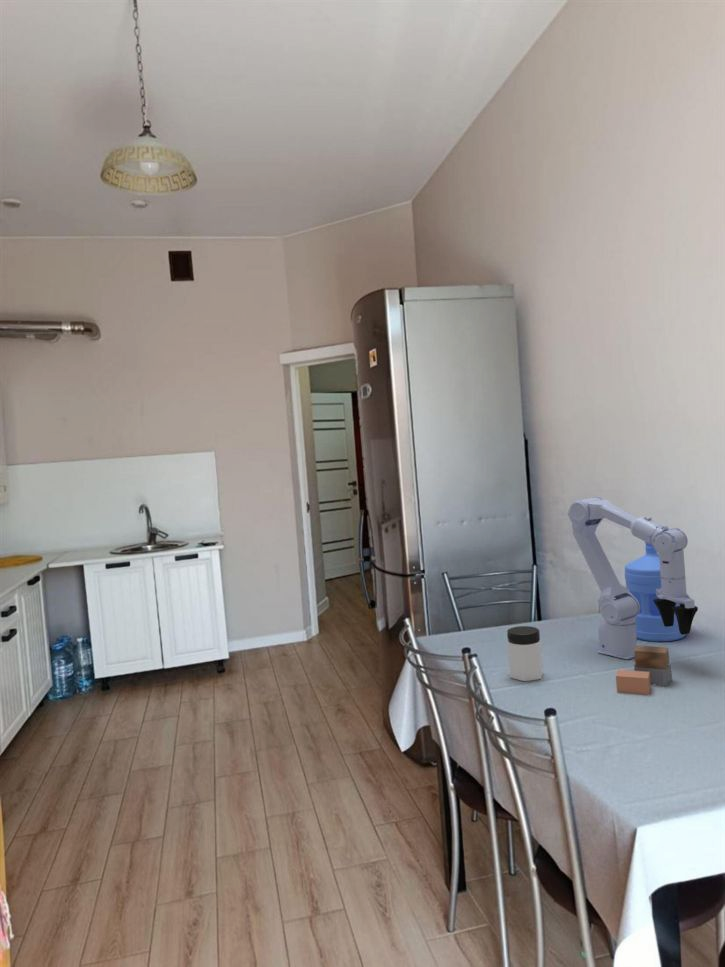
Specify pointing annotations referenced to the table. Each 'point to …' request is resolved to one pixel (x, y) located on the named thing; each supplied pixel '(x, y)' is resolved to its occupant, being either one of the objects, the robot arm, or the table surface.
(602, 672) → the table surface
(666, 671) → the grey block
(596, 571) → the robot arm
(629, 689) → the terracotta block
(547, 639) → the table surface
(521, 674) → the jar
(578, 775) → the table surface
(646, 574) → the water jug
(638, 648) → the walnut block
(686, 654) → the table surface
